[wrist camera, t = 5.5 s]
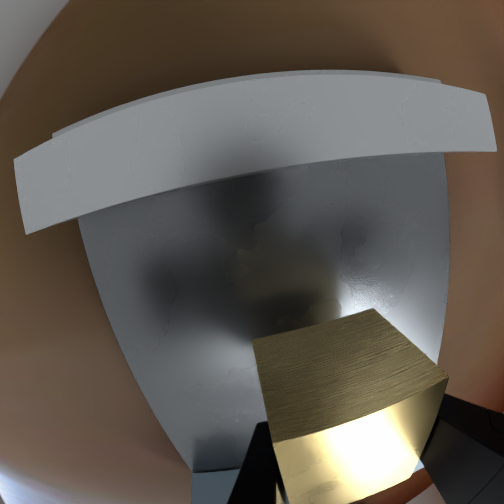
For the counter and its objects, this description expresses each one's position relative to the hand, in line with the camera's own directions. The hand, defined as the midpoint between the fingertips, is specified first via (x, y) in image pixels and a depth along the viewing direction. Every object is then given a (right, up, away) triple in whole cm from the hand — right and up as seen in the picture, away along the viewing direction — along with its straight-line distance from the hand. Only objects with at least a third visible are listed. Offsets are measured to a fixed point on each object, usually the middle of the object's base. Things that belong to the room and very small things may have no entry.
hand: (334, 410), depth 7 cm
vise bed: (0, +1, +4) cm, 4 cm away
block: (0, 0, +1) cm, 2 cm away
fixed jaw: (-2, +9, +1) cm, 9 cm away
